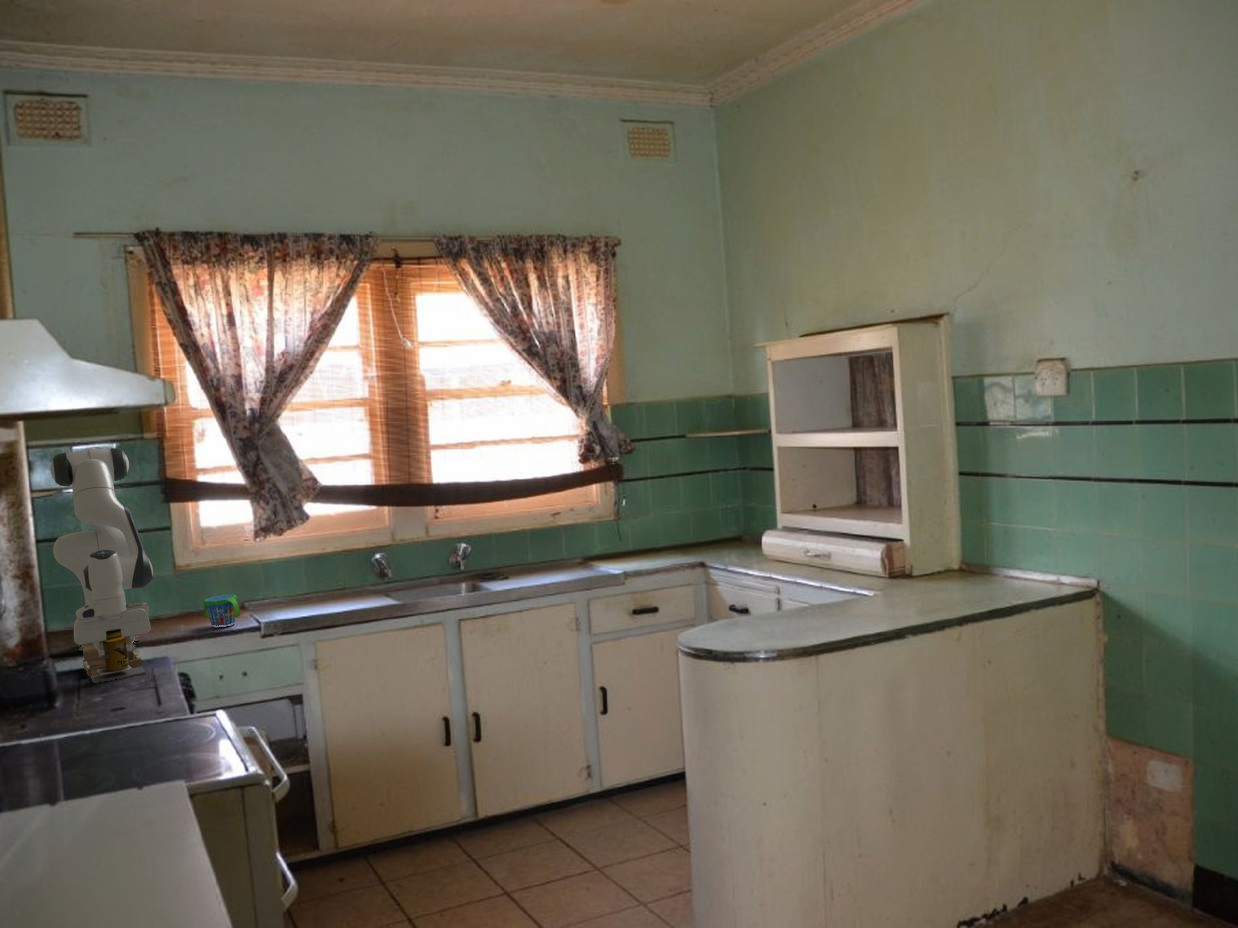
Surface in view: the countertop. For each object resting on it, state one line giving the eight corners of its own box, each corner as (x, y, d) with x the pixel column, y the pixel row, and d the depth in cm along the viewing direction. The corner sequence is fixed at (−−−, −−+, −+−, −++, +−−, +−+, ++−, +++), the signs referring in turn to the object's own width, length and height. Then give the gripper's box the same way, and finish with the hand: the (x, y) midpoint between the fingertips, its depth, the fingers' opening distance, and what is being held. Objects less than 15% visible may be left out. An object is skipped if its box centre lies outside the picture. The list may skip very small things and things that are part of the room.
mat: (90, 678, 321) (90, 676, 321) (142, 668, 328) (141, 666, 328) (93, 684, 314) (93, 681, 314) (146, 673, 321) (146, 671, 321)
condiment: (132, 668, 320) (127, 628, 319) (100, 675, 315) (95, 633, 314) (127, 664, 326) (122, 624, 325) (96, 670, 321) (91, 630, 320)
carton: (83, 668, 336) (79, 635, 335) (135, 658, 343) (131, 626, 343) (88, 677, 323) (84, 643, 322) (142, 666, 330) (138, 634, 329)
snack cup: (196, 628, 383) (193, 599, 382) (223, 621, 392) (219, 593, 391) (224, 631, 374) (220, 601, 373) (250, 624, 383) (247, 595, 382)
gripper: (146, 598, 328) (152, 644, 329) (70, 611, 317) (76, 658, 318) (149, 601, 322) (155, 648, 323) (72, 614, 312) (78, 662, 313)
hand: (115, 653), depth 321 cm, fingers closed on condiment, 6 cm apart
